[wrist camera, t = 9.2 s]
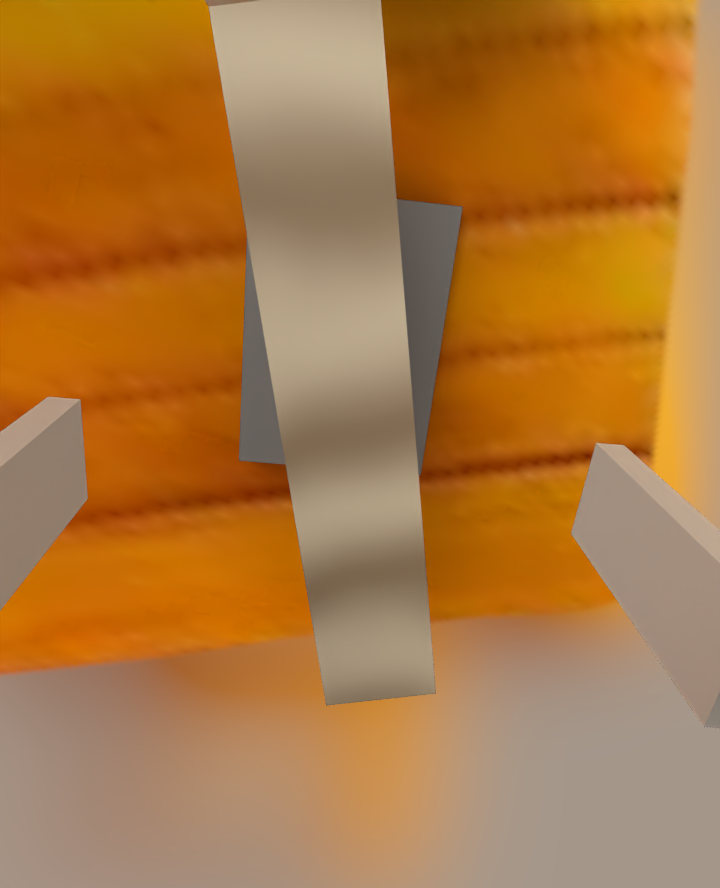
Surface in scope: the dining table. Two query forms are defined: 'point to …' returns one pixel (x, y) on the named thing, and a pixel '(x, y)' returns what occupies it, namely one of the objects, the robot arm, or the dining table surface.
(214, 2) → the floral ceramic pitcher
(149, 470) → the dining table surface
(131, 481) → the dining table surface
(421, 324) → the fulcrum
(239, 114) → the batten
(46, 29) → the dining table surface
